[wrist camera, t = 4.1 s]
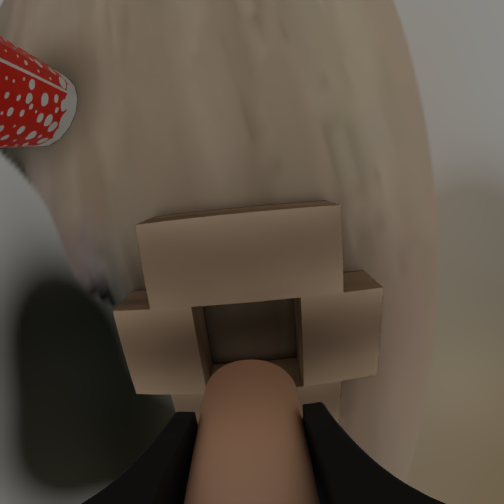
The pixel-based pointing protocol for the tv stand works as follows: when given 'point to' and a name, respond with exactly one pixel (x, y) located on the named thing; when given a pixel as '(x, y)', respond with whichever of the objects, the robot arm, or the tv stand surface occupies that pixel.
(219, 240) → the socket block
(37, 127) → the beverage cup
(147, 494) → the robot arm
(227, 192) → the tv stand surface
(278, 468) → the peg
